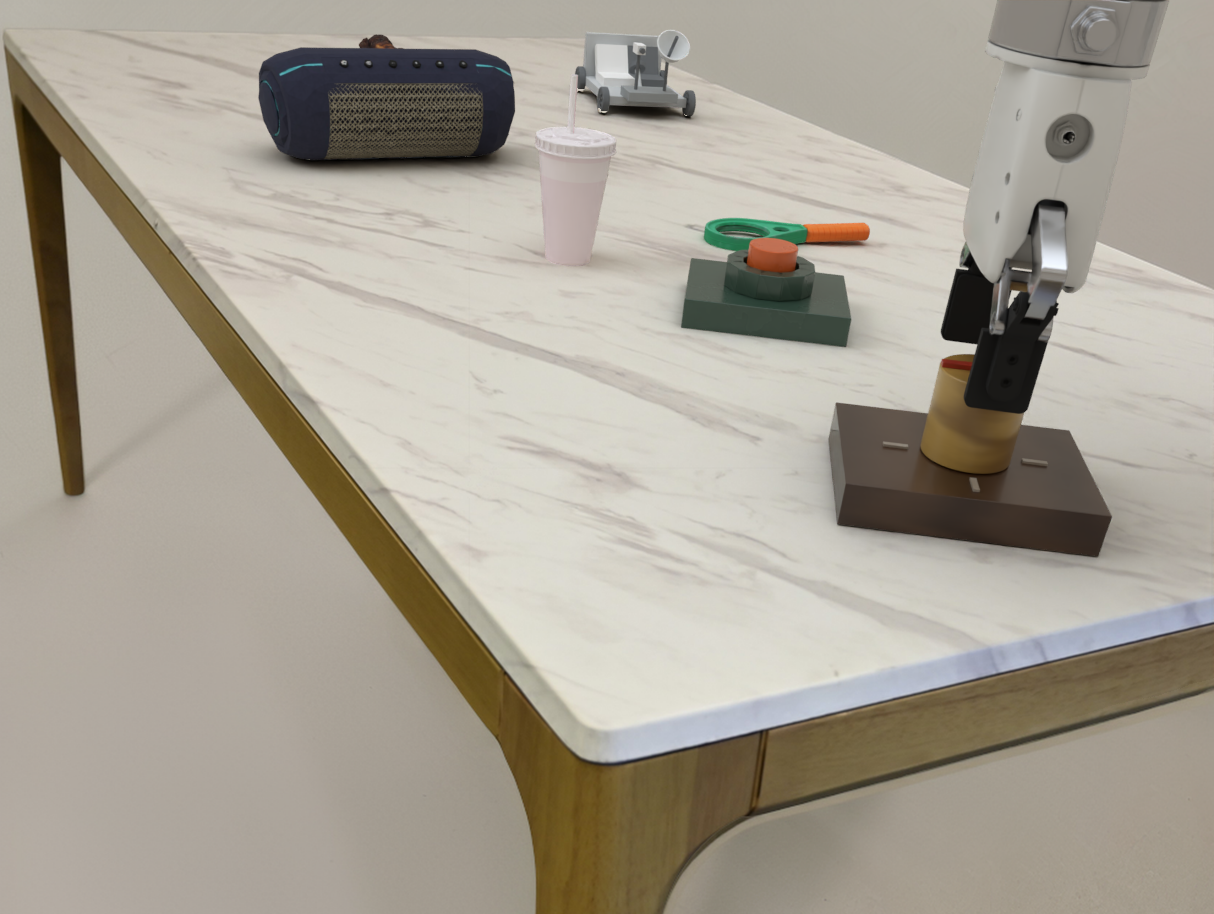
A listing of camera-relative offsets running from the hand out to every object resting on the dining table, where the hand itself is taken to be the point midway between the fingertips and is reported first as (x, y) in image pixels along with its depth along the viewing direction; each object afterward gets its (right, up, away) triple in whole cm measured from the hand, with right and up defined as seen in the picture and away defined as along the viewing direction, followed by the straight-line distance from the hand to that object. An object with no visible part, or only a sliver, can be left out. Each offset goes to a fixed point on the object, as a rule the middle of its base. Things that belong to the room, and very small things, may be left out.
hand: (979, 373), depth 69 cm
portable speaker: (-42, +32, +58) cm, 78 cm away
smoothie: (-23, +16, +35) cm, 45 cm away
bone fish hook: (-43, +54, +92) cm, 115 cm away
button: (-8, +12, +25) cm, 29 cm away
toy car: (-17, +49, +89) cm, 103 cm away
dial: (0, -4, +3) cm, 5 cm away
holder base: (0, -6, +4) cm, 7 cm away
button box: (-8, +9, +27) cm, 30 cm away
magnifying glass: (-4, +20, +44) cm, 48 cm away
